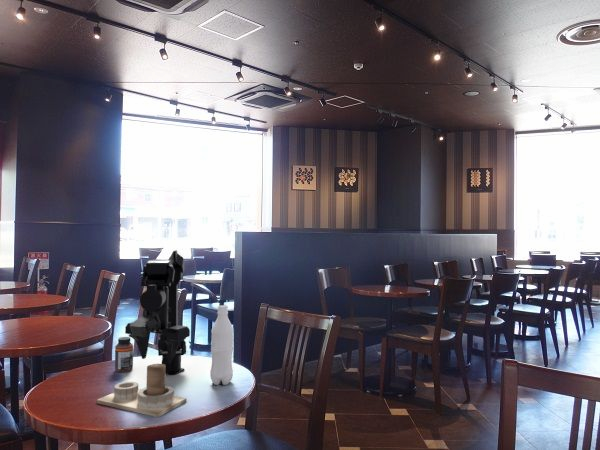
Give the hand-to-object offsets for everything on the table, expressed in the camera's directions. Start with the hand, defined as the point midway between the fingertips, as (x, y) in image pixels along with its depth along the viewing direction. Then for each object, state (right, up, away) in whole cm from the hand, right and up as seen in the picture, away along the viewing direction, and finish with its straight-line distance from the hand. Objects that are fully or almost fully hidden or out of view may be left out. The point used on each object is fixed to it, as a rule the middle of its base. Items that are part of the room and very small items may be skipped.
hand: (156, 360), depth 127 cm
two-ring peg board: (-5, -13, +2) cm, 14 cm away
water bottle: (+15, -13, +19) cm, 28 cm away
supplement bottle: (-21, -13, +31) cm, 40 cm away
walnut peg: (0, -12, 0) cm, 12 cm away
